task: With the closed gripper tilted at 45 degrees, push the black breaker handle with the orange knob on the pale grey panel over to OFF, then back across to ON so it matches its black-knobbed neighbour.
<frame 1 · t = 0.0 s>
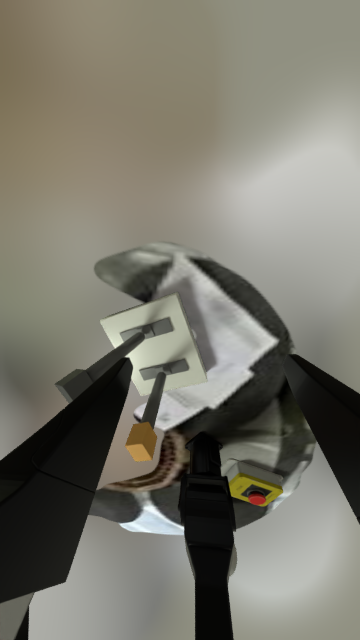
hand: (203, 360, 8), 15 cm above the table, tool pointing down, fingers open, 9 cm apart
breaker panel: (159, 345, 26), on the table
emergency button: (246, 473, 38), on the table
lightbulb: (218, 500, 42), on the table
tripped breaker: (148, 419, 17), point 11 cm above the table, hinge at 0.0°
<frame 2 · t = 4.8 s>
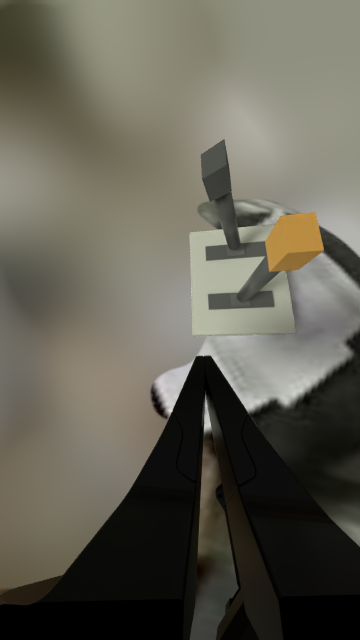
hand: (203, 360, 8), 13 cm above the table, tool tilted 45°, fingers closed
breaker panel: (232, 284, 23), on the table
tripped breaker: (271, 265, 11), point 11 cm above the table, hinge at 0.0°
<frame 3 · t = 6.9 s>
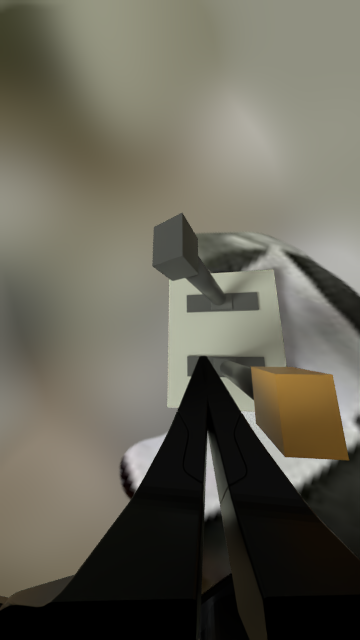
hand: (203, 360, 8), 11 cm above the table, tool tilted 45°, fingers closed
breaker panel: (219, 337, 19), on the table
tripped breaker: (260, 386, 8), point 11 cm above the table, hinge at 3.0°, touching gripper
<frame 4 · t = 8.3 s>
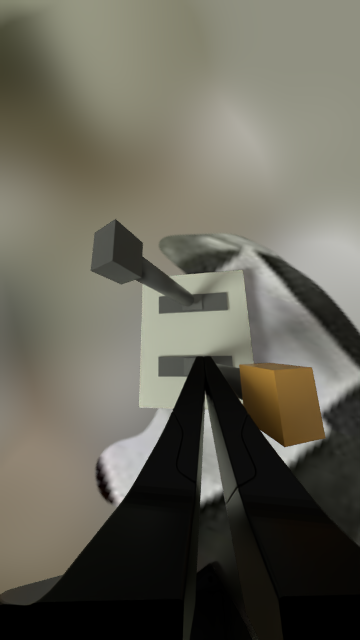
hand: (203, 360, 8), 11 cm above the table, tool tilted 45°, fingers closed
breaker panel: (193, 337, 20), on the table
tripped breaker: (241, 383, 8), point 11 cm above the table, hinge at 20.3°
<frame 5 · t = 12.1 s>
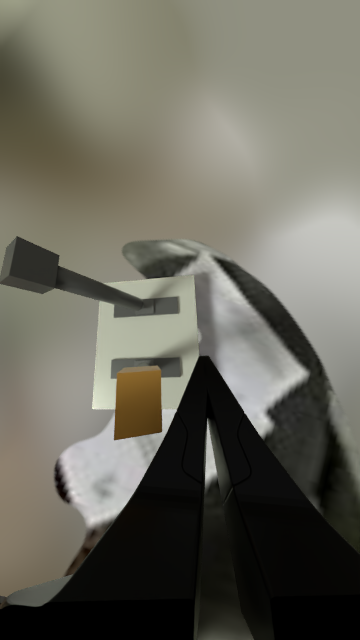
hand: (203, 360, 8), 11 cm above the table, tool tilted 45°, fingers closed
breaker panel: (151, 339, 20), on the table
tripped breaker: (141, 384, 9), point 11 cm above the table, hinge at 19.1°, touching gripper
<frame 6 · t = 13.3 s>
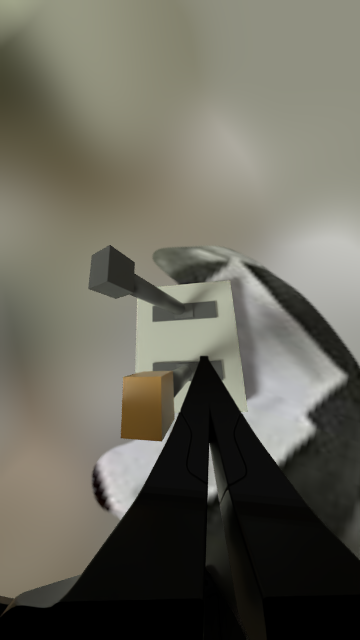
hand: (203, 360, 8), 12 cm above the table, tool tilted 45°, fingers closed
breaker panel: (186, 343, 21), on the table
tripped breaker: (165, 388, 9), point 11 cm above the table, hinge at -6.1°, touching gripper
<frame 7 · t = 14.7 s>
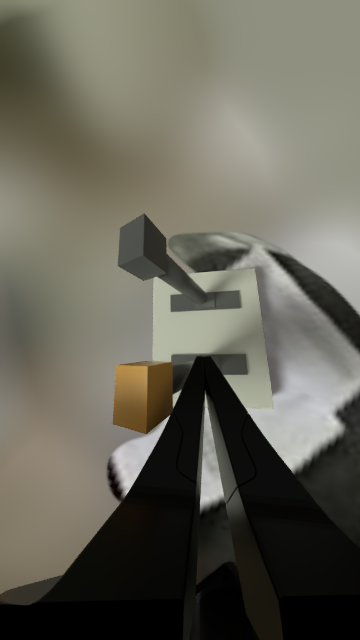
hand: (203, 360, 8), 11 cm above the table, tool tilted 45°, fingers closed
breaker panel: (204, 335, 20), on the table
tripped breaker: (170, 379, 9), point 11 cm above the table, hinge at -20.1°
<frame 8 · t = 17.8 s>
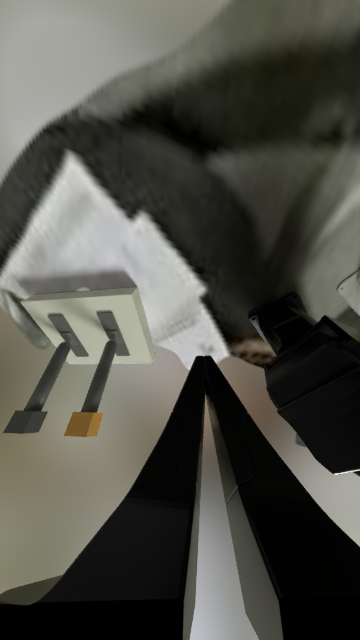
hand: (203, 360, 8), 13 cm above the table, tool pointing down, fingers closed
breaker panel: (102, 326, 25), on the table
tripped breaker: (93, 399, 17), point 11 cm above the table, hinge at -20.2°
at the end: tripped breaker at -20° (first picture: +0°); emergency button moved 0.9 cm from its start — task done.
